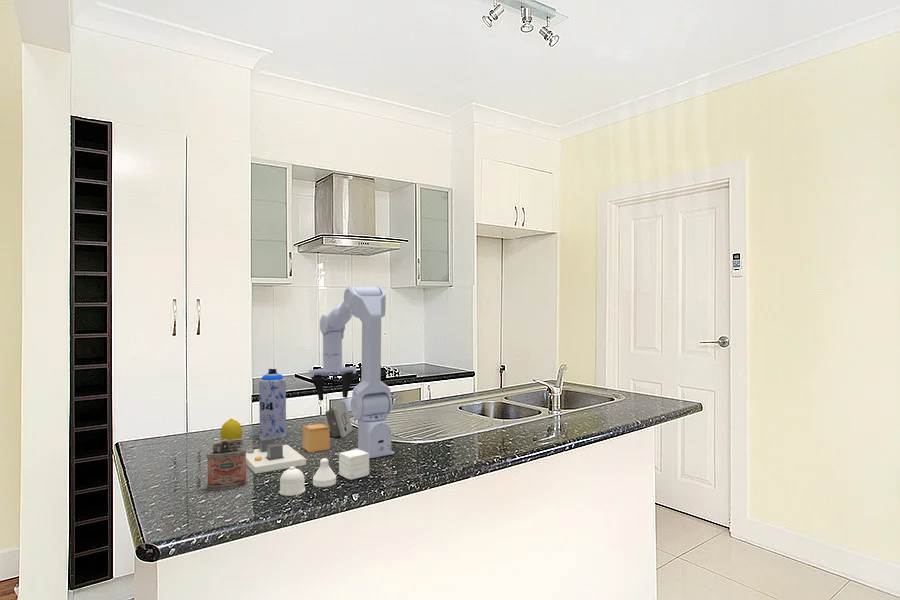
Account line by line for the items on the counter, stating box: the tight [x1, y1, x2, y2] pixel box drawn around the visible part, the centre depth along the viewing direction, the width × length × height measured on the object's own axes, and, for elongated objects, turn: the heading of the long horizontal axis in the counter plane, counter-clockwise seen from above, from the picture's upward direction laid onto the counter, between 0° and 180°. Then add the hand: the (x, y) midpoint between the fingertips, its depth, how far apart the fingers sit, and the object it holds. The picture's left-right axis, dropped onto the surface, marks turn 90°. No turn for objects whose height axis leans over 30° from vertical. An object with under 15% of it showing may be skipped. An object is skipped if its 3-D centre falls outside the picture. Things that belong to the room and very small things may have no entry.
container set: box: [278, 449, 370, 497], centre depth 118 cm, size 20×5×6 cm, turn 131°
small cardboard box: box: [302, 422, 331, 453], centre depth 146 cm, size 6×6×6 cm
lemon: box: [220, 418, 243, 449], centre depth 148 cm, size 6×6×8 cm
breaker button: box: [267, 442, 283, 460], centre depth 133 cm, size 3×3×3 cm
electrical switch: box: [325, 401, 353, 439], centre depth 162 cm, size 9×5×9 cm, turn 174°
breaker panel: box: [246, 437, 307, 475], centre depth 135 cm, size 16×12×4 cm
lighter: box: [206, 438, 248, 491], centre depth 117 cm, size 8×3×10 cm, turn 114°
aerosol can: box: [258, 368, 288, 440], centre depth 161 cm, size 8×8×20 cm
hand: (333, 398), depth 166 cm, fingers open, 7 cm apart
